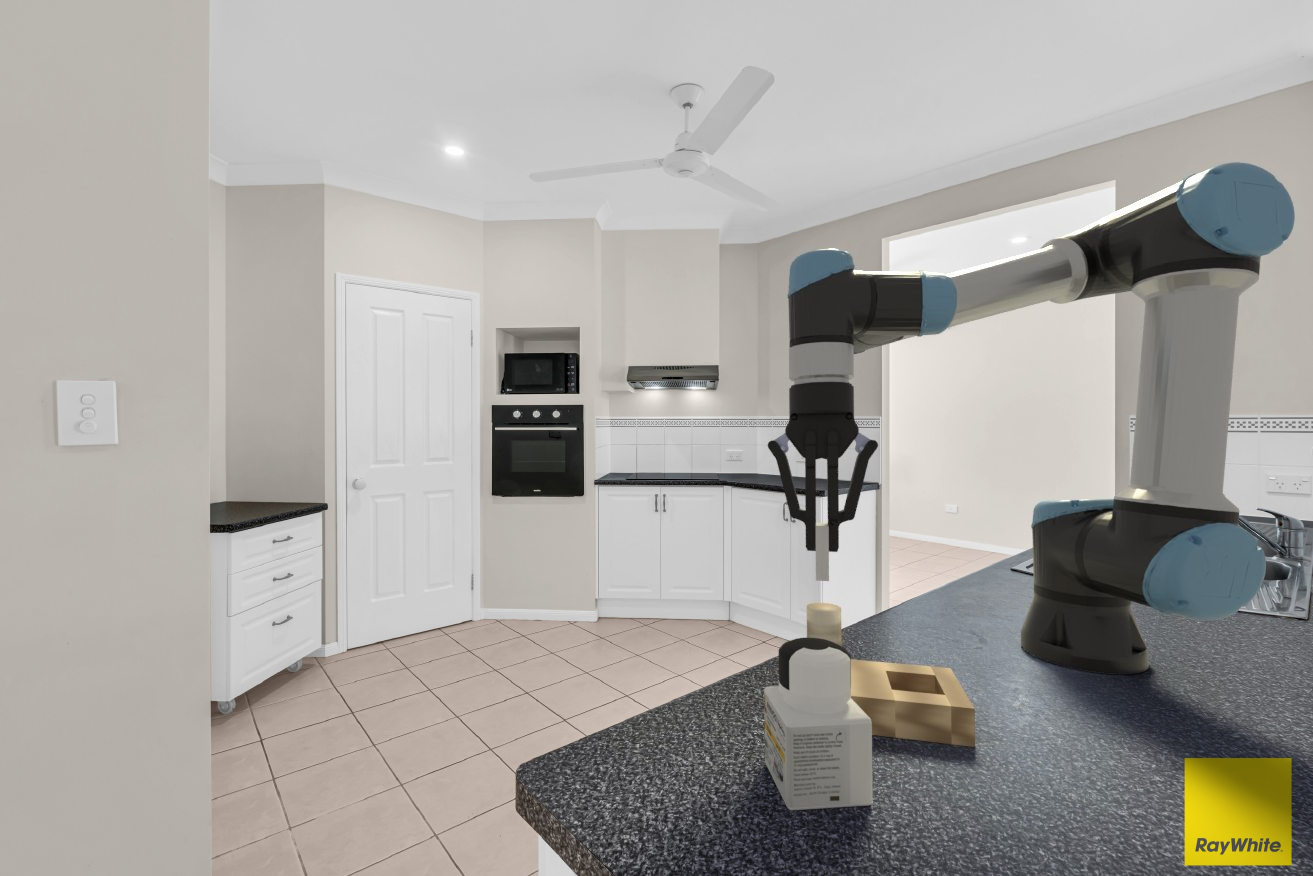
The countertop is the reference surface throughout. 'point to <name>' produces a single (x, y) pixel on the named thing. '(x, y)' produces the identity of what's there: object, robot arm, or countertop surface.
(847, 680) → the container
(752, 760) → the countertop surface
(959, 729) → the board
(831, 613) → the peg
